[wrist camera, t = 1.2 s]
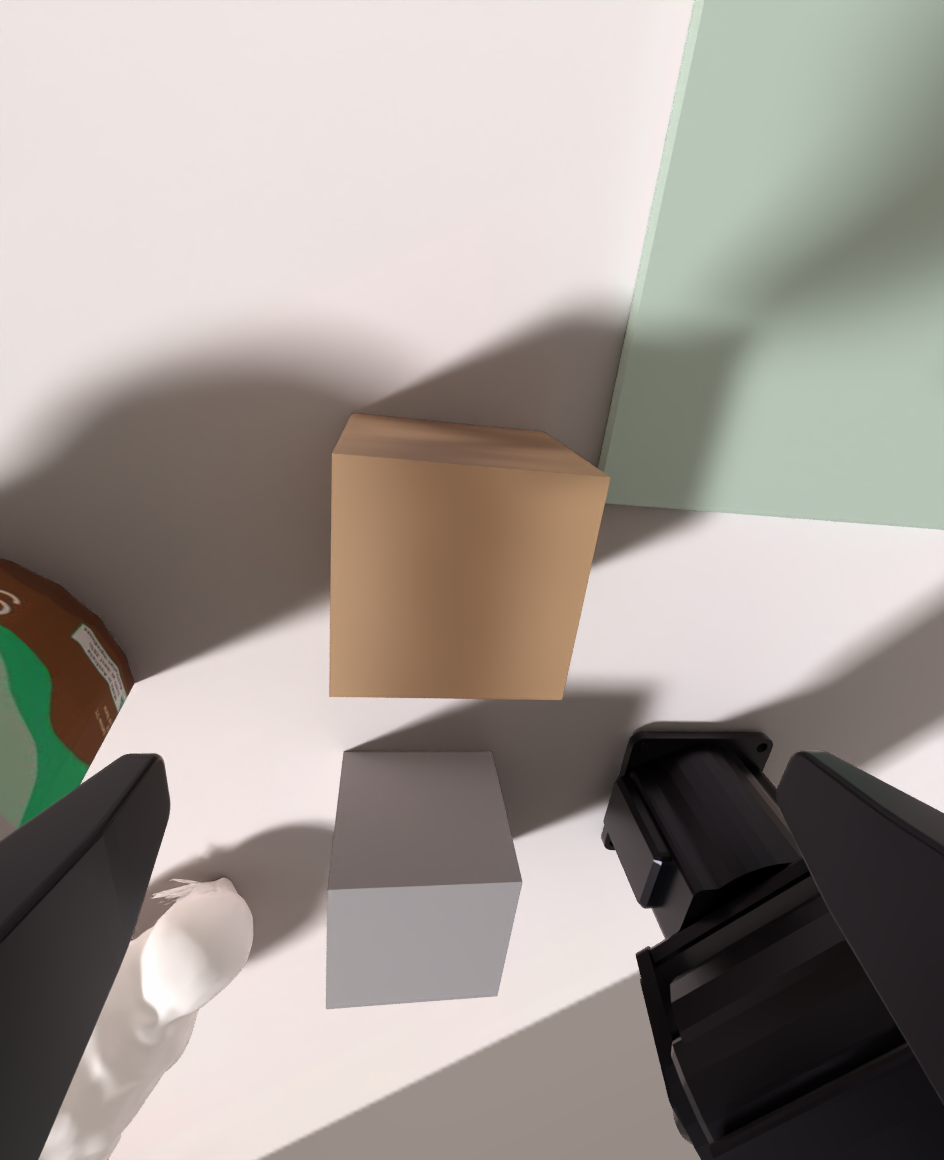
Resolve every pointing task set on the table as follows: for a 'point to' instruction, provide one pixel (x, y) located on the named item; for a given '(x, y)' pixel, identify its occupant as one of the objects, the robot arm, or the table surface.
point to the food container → (51, 692)
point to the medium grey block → (419, 879)
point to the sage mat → (793, 272)
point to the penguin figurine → (151, 1014)
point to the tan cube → (457, 559)
